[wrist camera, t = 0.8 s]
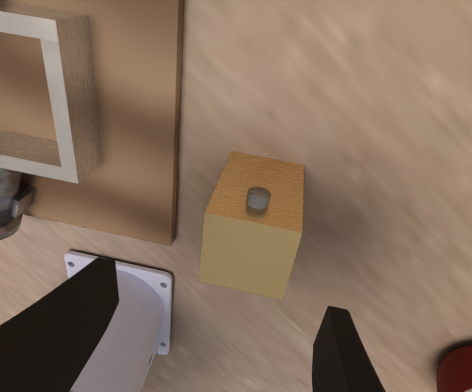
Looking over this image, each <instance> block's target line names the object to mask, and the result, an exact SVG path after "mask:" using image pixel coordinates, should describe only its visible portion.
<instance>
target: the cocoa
mask: <svg viewBox="0 0 472 392" xmlns="http://www.w3.org/2000/svg"><path fill="white" fill-rule="evenodd" d="M437 392H472V344H471V345H467V346H462V347H459V348H457V349H455V350H454V351H452V352H450V353H449V354H447V355H446V356H445V357H444V359H443V361H442V362H441V364H440V366H439V368H438V370H437Z"/></svg>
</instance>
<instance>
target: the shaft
mask: <svg viewBox="0 0 472 392" xmlns="http://www.w3.org/2000/svg"><path fill="white" fill-rule="evenodd" d="M21 173H22V172H19V171H14V170H9V169H4V168H0V240H1V239H4V238H7V237H9V236H11V235H13V234H14V233H15V232H16V231H17V230H18V229H19V227H20V224H21V219H22V213H23V212H24V211H25V210H26V209H27V208H29V207H30V206H31V205H32V204H33V202H34V197H35V192H36V188H35V187H33V186H31V185H29V184H27V183H25V182H23V181H21V180H20V179H21Z"/></svg>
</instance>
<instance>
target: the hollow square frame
mask: <svg viewBox="0 0 472 392" xmlns="http://www.w3.org/2000/svg"><path fill="white" fill-rule="evenodd" d="M0 32H4V33H10V34H15V35H21V36H27V37H33V38H38V39H40V41H41V47H42V53H43V59H44V65H45V71H46V77H47V83H48V89H49V95H50V101H51V107H52V113H53V119H54V125H55V131H56V137H57V141H55V140H50V139H45V138H39V137H34V136H29V135H24V134H19V133H14V132H9V131H4V130H0V168H4V169H9V170H14V171H19V172H24V173H29V174H33V175H38V176H43V177H48V178H53V179H58V180H63V181H67V182H72V183H77V184H79V183H80V182H81V181H82V180H83V179H84V178H85V177H87V176H88V175H89V174H90V173H91V172H92V171H93V170H94V169H95V168H97V167H98V166H99V165H100V164H101V163H102V153H101V142H100V132H99V121H98V111H97V100H96V89H95V79H94V68H93V57H92V47H91V36H90V25H89V15H88V14H82V13H76V12H69V11H63V10H57V9H51V8H45V7H39V6H33V5H27V4H21V3H15V2H9V1H3V0H0Z"/></svg>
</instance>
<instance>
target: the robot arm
mask: <svg viewBox="0 0 472 392" xmlns="http://www.w3.org/2000/svg"><path fill="white" fill-rule="evenodd" d="M64 259H65V264H66V270H67V275H68V280H66V281H65V282H64V283H62V284H61V285H60V286H58V287H57V288H55V289H54V290H53V291H51V292H50V293H48V294H47V295H46V296H44V297H43V298H41V299H40V300H38V301H37V302H36V303H34V304H33V305H31V306H30V307H28V308H27V309H25V310H23V311H22V312H20V313H19V314H17V315H16V316H14V317H13V318H11V319H10V320H8V321H7V322H5V323H3V324H2V325H0V392H141V389H142V387H143V384H144V382H145V379H146V377H147V375H148V372H149V370H150V367H151V365H152V362H153V360H154V357H155V355H156V353H157V354H161V355H167V354H168V353H169V350H170V331H171V303H172V276H171V274H169V273H168V272H165V271H160V270H156V269H151V268H147V267H142V266H138V265H133V264H129V263H124V262H120V261H115V260H111V259H106V258H102V257H97V256H93V255H88V254H84V253H79V252H75V251H68V252H67V253H66V254H65V255H64ZM165 283H166V284H165ZM312 387H313V392H385V390H384V388H383V386H382V384H381V382H380V380H379V378H378V376H377V374H376V372H375V370H374V368H373V366H372V364H371V362H370V359H369V357H368V355H367V353H366V351H365V348H364V346H363V344H362V342H361V339H360V337H359V335H358V332H357V330H356V328H355V325H354V323H353V320H352V318H351V315H350V313H349V311H348V310H346V309H342V308H337V307H332V306H328V308H327V310H326V313H325V316H324V318H323V321H322V323H321V326H320V329H319V331H318V334H317V337H316V339H315V342H314V344H313V363H312Z"/></svg>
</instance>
